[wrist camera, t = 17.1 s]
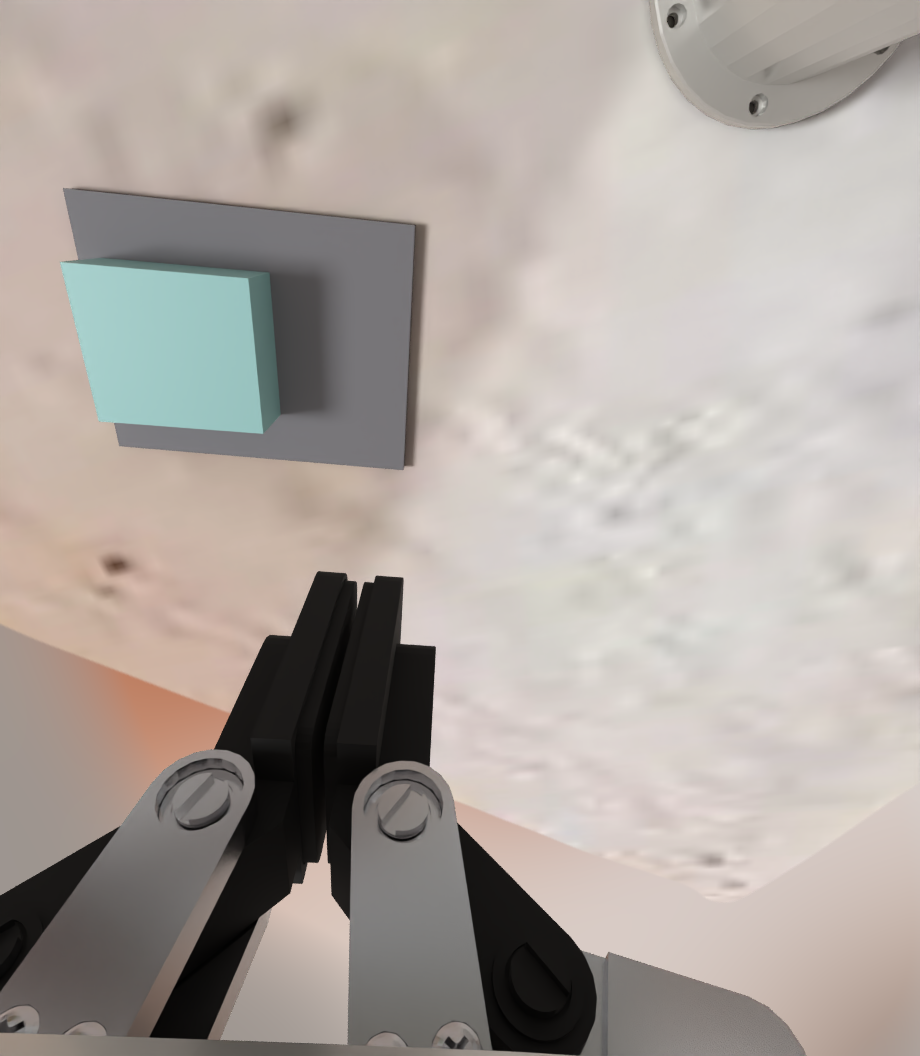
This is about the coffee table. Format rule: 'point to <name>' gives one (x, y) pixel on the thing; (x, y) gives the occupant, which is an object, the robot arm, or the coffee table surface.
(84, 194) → the mat
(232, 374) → the teal slab
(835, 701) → the coffee table surface
